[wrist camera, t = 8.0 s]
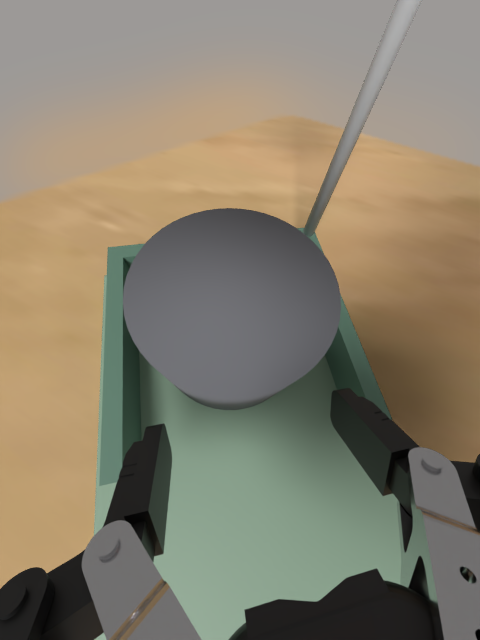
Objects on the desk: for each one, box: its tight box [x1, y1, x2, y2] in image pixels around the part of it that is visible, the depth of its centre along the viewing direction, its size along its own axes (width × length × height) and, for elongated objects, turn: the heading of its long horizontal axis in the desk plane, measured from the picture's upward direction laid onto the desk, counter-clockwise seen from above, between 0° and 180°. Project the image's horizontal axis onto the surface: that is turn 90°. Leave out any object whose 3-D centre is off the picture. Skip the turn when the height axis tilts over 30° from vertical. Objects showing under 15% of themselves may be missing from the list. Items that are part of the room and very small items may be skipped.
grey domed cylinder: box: [123, 208, 341, 410], centre depth 14 cm, size 10×10×7 cm
